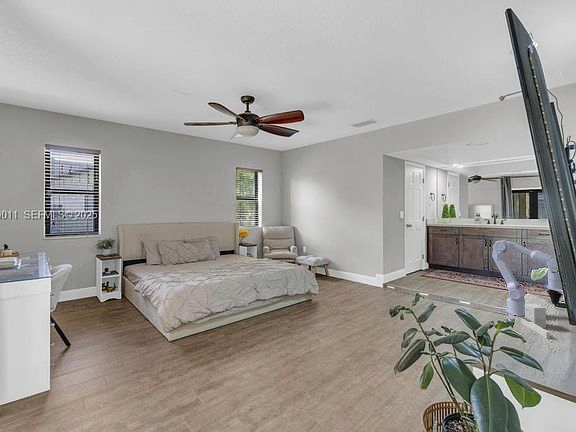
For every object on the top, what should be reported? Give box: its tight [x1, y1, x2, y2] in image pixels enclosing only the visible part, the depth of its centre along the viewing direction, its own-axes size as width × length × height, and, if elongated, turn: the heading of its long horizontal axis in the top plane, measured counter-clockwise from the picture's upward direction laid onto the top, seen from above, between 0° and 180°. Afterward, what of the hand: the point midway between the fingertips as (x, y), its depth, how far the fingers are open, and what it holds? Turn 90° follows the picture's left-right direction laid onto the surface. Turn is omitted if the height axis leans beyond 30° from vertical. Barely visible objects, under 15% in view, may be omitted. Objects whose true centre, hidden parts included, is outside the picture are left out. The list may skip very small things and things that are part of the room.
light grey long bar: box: [519, 316, 551, 339], centre depth 154 cm, size 21×2×3 cm, turn 171°
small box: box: [524, 303, 547, 329], centre depth 160 cm, size 8×6×10 cm
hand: (555, 304), depth 165 cm, fingers closed
